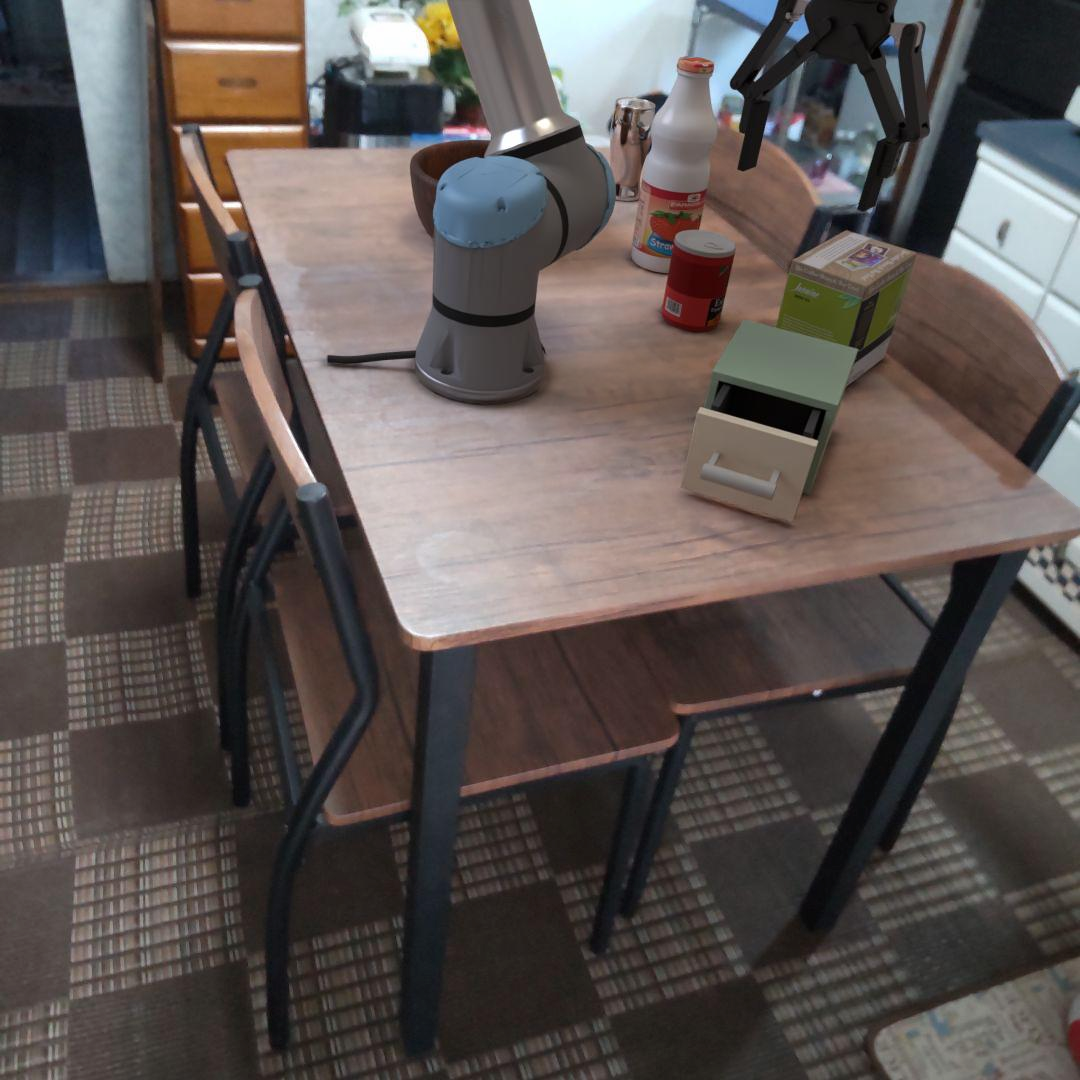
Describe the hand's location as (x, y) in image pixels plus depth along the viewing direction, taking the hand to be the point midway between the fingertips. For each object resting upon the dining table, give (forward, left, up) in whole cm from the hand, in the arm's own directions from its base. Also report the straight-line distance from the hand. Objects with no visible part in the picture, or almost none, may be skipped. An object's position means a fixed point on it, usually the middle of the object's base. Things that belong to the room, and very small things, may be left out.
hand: (804, 187), depth 101 cm
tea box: (+15, +10, -26) cm, 32 cm away
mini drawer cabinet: (-1, -8, -26) cm, 27 cm away
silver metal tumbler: (+5, +70, -26) cm, 75 cm away
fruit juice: (+3, +42, -26) cm, 50 cm away
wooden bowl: (-21, +52, -26) cm, 62 cm away
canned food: (+1, +23, -26) cm, 35 cm away
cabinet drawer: (-7, -16, -25) cm, 30 cm away
